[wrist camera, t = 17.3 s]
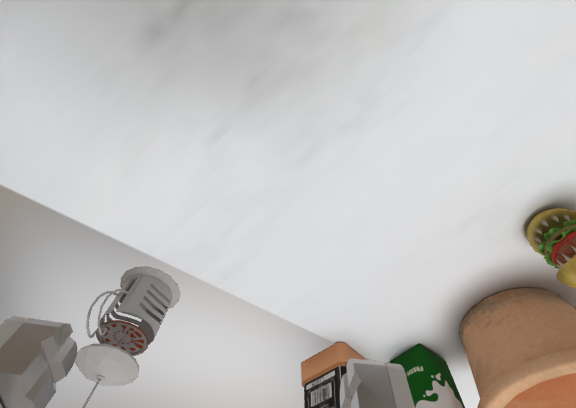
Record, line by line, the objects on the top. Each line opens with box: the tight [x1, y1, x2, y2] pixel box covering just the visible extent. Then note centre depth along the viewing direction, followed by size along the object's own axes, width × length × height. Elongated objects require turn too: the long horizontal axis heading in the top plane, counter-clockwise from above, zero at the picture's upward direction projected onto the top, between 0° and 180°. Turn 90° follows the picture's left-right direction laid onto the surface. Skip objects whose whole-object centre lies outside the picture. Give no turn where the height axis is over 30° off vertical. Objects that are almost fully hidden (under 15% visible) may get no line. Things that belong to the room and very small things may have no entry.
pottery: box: [459, 287, 576, 408], centre depth 48 cm, size 22×22×14 cm
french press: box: [75, 267, 180, 408], centre depth 43 cm, size 10×12×25 cm
